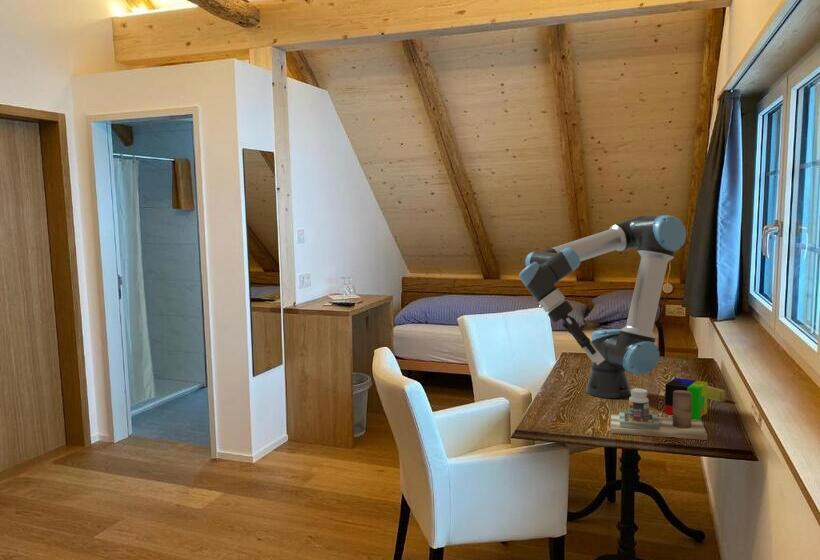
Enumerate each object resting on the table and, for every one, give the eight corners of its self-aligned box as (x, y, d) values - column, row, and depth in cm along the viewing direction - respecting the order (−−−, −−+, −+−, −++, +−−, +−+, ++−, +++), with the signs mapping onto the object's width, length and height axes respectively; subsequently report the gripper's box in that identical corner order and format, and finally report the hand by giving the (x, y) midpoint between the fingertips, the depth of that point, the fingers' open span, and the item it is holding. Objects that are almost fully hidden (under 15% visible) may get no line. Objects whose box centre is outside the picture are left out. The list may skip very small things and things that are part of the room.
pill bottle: (625, 422, 193) (625, 390, 192) (633, 418, 197) (634, 386, 196) (643, 426, 189) (643, 393, 188) (652, 422, 193) (652, 389, 192)
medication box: (691, 394, 228) (691, 383, 227) (696, 393, 229) (696, 382, 228) (720, 402, 217) (720, 391, 216) (726, 401, 218) (726, 390, 218)
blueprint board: (610, 418, 202) (611, 383, 201) (700, 424, 194) (701, 387, 193) (610, 433, 189) (610, 394, 188) (707, 440, 181) (707, 400, 180)
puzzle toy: (675, 407, 213) (675, 377, 212) (707, 412, 206) (707, 382, 205) (665, 414, 205) (665, 384, 204) (698, 420, 199) (698, 388, 198)
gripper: (546, 314, 215) (585, 366, 211) (547, 312, 190) (592, 371, 187) (564, 301, 214) (604, 352, 210) (568, 297, 190) (613, 355, 186)
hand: (599, 361), depth 199 cm, fingers open, 13 cm apart
